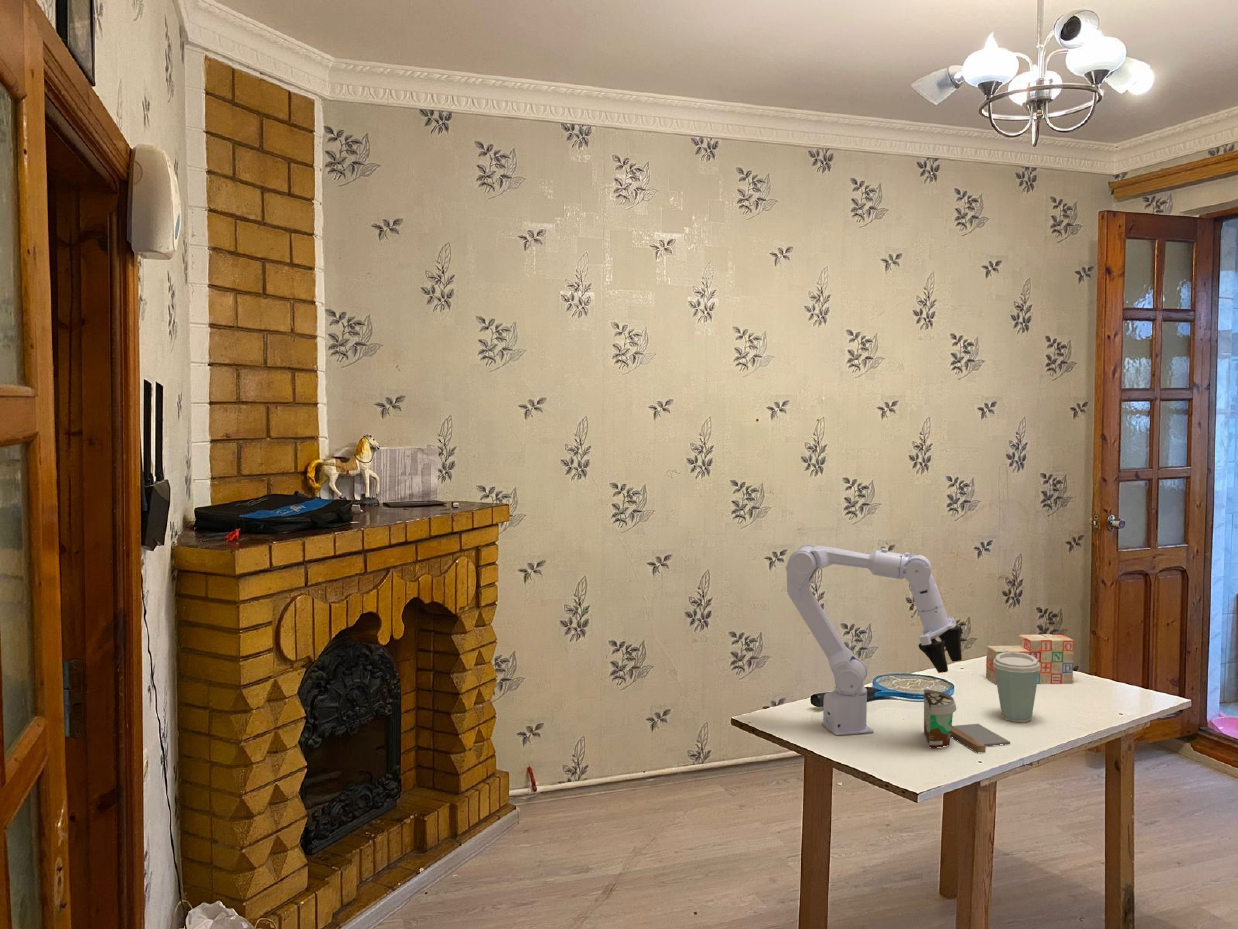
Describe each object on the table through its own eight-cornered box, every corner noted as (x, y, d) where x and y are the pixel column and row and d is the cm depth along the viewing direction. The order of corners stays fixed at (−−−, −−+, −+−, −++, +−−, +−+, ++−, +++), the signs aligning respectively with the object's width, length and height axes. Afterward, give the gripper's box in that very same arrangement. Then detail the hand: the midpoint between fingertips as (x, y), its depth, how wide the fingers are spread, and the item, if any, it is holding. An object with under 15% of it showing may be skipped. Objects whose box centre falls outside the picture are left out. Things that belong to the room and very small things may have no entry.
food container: (959, 752, 198) (960, 707, 197) (930, 750, 199) (931, 705, 199) (951, 733, 210) (951, 690, 209) (923, 731, 211) (923, 688, 211)
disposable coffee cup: (1044, 727, 213) (1046, 664, 213) (995, 724, 216) (996, 661, 215) (1034, 712, 224) (1035, 652, 223) (987, 709, 226) (989, 650, 225)
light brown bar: (977, 753, 198) (977, 746, 198) (936, 728, 213) (936, 721, 213) (985, 752, 198) (985, 745, 198) (944, 727, 214) (944, 721, 214)
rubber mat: (978, 747, 201) (978, 744, 201) (947, 728, 213) (947, 726, 213) (1010, 744, 203) (1010, 742, 203) (978, 726, 214) (978, 723, 214)
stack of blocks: (995, 685, 246) (997, 640, 246) (985, 678, 253) (986, 634, 252) (1073, 684, 247) (1074, 639, 247) (1060, 677, 254) (1062, 633, 253)
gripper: (933, 614, 197) (953, 675, 196) (960, 596, 207) (979, 654, 206) (904, 619, 202) (923, 678, 201) (931, 601, 212) (950, 657, 211)
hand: (950, 666), depth 204 cm, fingers open, 7 cm apart
